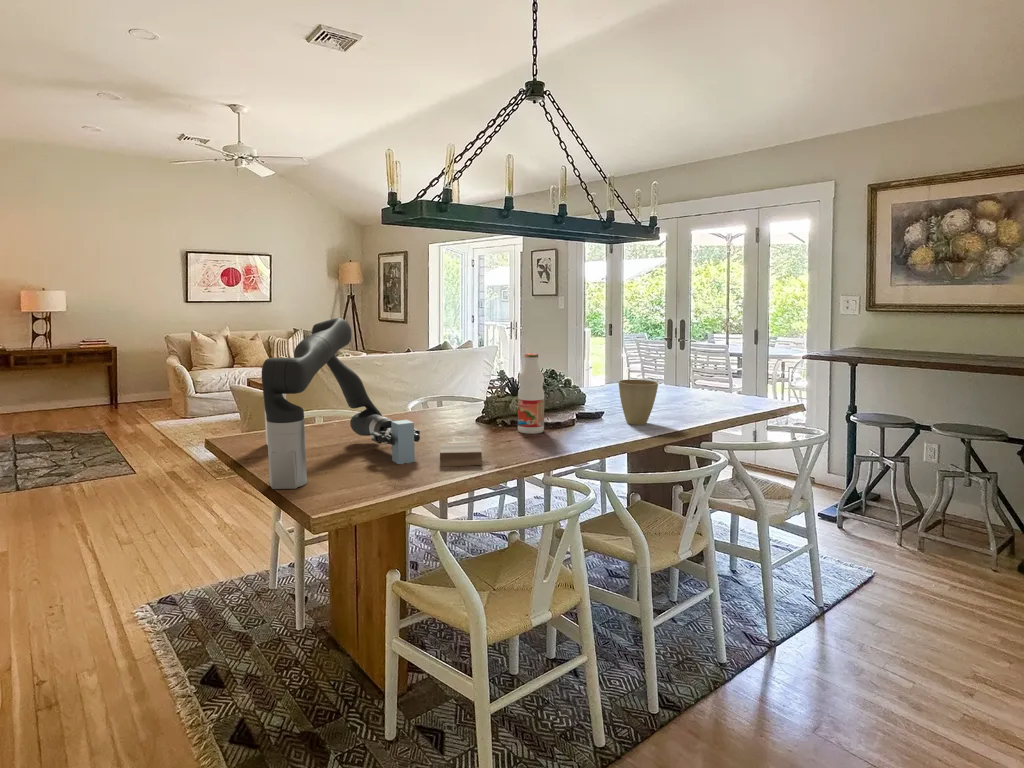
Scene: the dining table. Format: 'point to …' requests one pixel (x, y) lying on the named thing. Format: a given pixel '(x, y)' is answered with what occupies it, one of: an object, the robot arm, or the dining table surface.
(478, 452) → the walnut plinth
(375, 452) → the dining table surface
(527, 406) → the fruit juice
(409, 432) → the blue block
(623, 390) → the plant pot
